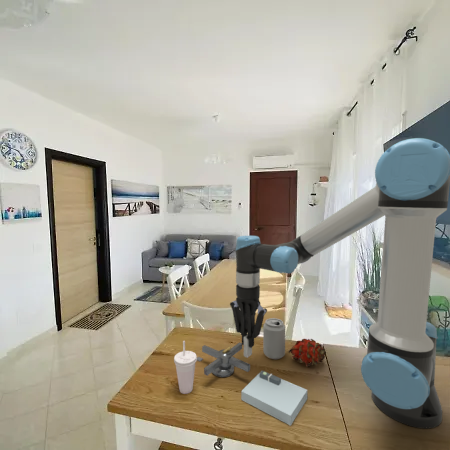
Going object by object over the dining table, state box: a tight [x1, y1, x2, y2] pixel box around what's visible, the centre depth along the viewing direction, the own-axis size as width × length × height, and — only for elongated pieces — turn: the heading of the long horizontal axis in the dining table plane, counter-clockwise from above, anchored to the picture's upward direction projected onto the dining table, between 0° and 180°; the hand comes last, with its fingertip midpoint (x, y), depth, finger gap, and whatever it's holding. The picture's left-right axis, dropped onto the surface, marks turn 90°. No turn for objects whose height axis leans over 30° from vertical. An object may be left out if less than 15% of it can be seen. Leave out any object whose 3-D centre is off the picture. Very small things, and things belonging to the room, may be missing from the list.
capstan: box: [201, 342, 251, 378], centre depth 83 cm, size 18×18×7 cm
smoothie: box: [173, 340, 198, 395], centre depth 75 cm, size 6×6×14 cm
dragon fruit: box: [288, 338, 327, 367], centre depth 88 cm, size 8×8×12 cm
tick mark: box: [196, 356, 204, 362], centre depth 90 cm, size 2×2×1 cm
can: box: [262, 317, 286, 360], centre depth 92 cm, size 8×8×12 cm
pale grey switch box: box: [240, 370, 308, 427], centre depth 71 cm, size 14×11×4 cm
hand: (247, 355), depth 86 cm, fingers closed
